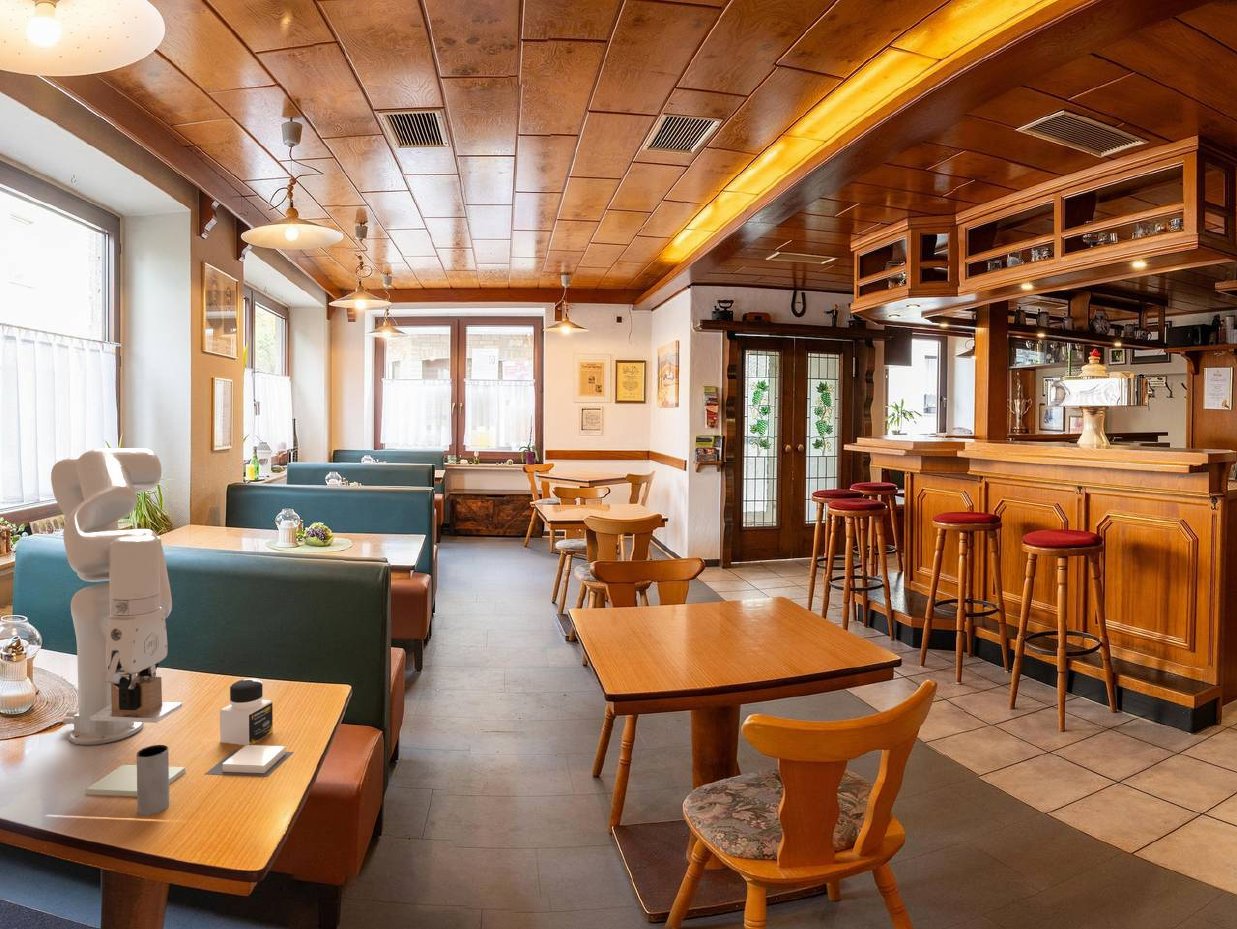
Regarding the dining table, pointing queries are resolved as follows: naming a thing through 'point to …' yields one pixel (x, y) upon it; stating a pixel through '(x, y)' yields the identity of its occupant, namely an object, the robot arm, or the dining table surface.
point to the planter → (152, 779)
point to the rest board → (125, 781)
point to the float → (148, 704)
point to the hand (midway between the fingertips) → (136, 704)
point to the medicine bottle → (246, 714)
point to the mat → (219, 771)
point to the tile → (254, 759)
